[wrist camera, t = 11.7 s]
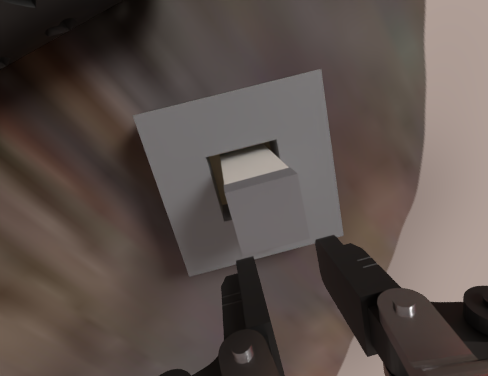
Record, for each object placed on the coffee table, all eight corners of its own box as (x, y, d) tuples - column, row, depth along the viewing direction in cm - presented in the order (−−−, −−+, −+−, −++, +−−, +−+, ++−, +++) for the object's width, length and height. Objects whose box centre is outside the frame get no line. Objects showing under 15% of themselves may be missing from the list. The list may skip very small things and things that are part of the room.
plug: (219, 154, 26) (224, 193, 16) (262, 142, 26) (297, 173, 16) (230, 195, 27) (242, 256, 17) (272, 184, 27) (309, 238, 17)
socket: (147, 111, 25) (129, 116, 20) (300, 73, 26) (325, 68, 20) (192, 247, 30) (188, 282, 24) (322, 213, 30) (347, 239, 25)
